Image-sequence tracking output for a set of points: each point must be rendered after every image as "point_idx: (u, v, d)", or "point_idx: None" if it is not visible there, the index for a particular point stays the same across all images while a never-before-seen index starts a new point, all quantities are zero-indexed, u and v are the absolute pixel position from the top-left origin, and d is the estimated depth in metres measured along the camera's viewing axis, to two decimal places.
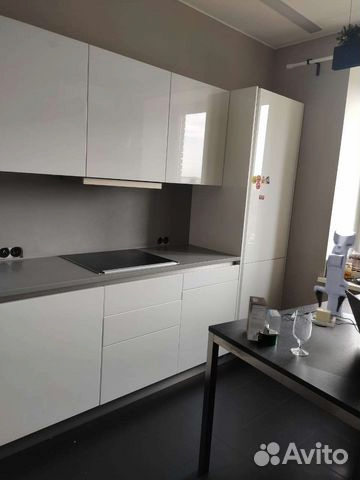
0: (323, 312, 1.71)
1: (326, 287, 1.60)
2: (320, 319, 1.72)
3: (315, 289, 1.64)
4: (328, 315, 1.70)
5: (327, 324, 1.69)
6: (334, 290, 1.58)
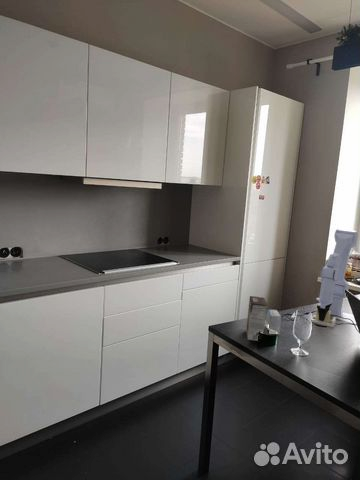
0: None
1: None
2: None
3: None
4: (328, 315, 1.70)
5: (327, 324, 1.69)
6: (320, 298, 1.71)
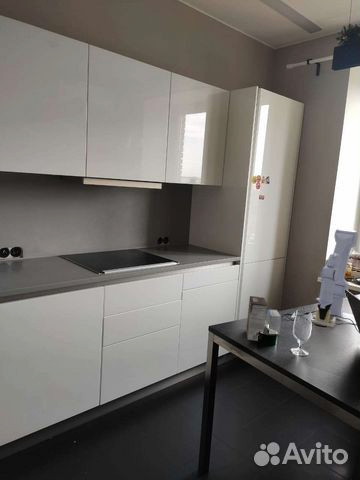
0: None
1: None
2: (320, 319, 1.72)
3: None
4: (328, 315, 1.70)
5: (327, 324, 1.69)
6: (320, 298, 1.71)
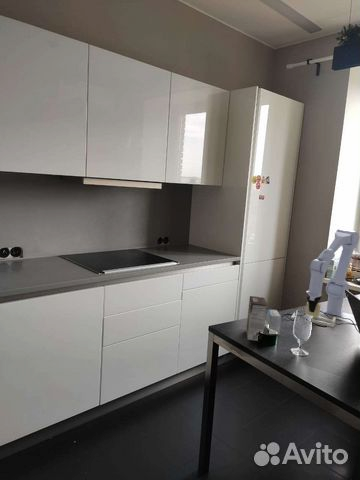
0: None
1: None
2: (310, 312, 1.74)
3: None
4: (318, 308, 1.72)
5: (327, 324, 1.69)
6: (309, 291, 1.73)
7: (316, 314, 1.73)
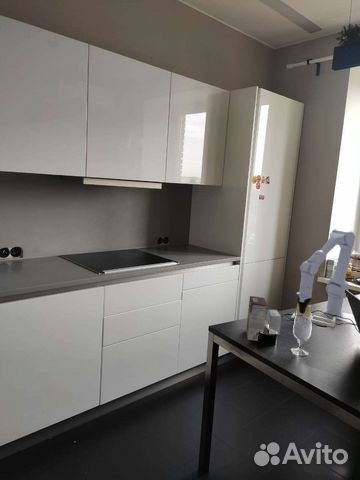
0: None
1: None
2: (300, 313, 1.77)
3: None
4: (308, 309, 1.75)
5: (327, 324, 1.69)
6: (299, 292, 1.76)
7: (306, 315, 1.75)
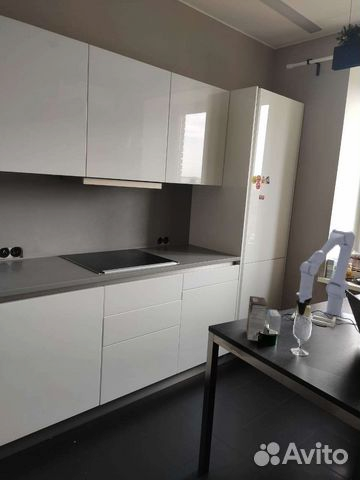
0: None
1: None
2: None
3: None
4: (308, 310, 1.75)
5: (327, 324, 1.69)
6: (299, 293, 1.76)
7: (306, 316, 1.75)
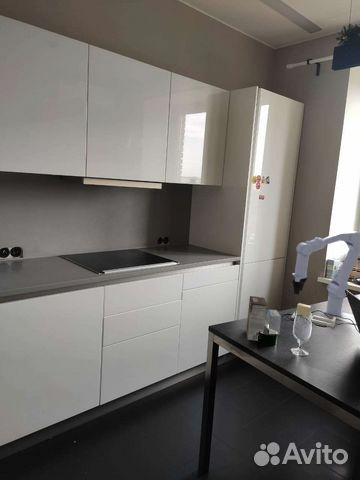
0: (303, 307, 1.76)
1: None
2: (300, 314, 1.77)
3: None
4: (308, 310, 1.75)
5: (327, 324, 1.69)
6: (295, 273, 1.82)
7: (306, 316, 1.75)
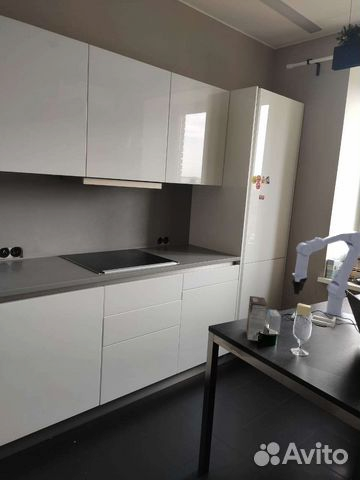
0: (303, 307, 1.76)
1: None
2: (300, 314, 1.77)
3: None
4: (308, 310, 1.75)
5: (327, 324, 1.69)
6: (295, 273, 1.82)
7: (306, 316, 1.75)
